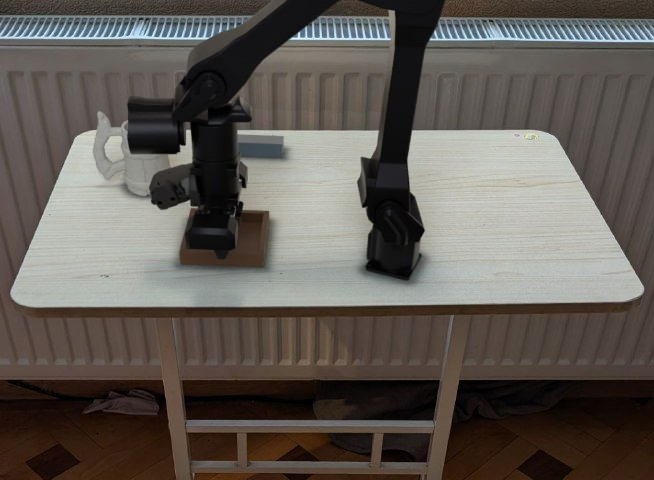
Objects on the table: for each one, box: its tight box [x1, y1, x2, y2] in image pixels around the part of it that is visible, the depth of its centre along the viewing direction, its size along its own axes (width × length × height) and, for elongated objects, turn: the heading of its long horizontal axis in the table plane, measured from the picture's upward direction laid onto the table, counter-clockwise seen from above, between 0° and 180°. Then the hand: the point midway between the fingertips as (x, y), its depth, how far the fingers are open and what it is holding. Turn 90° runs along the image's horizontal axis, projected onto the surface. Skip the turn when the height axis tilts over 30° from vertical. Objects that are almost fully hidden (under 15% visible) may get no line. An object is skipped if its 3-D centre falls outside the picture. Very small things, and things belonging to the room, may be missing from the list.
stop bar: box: [238, 133, 285, 159], centre depth 139 cm, size 3×12×2 cm, turn 88°
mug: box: [92, 110, 172, 197], centre depth 127 cm, size 8×12×12 cm, turn 96°
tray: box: [179, 207, 270, 268], centre depth 119 cm, size 12×12×2 cm
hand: (221, 258), depth 114 cm, fingers closed
